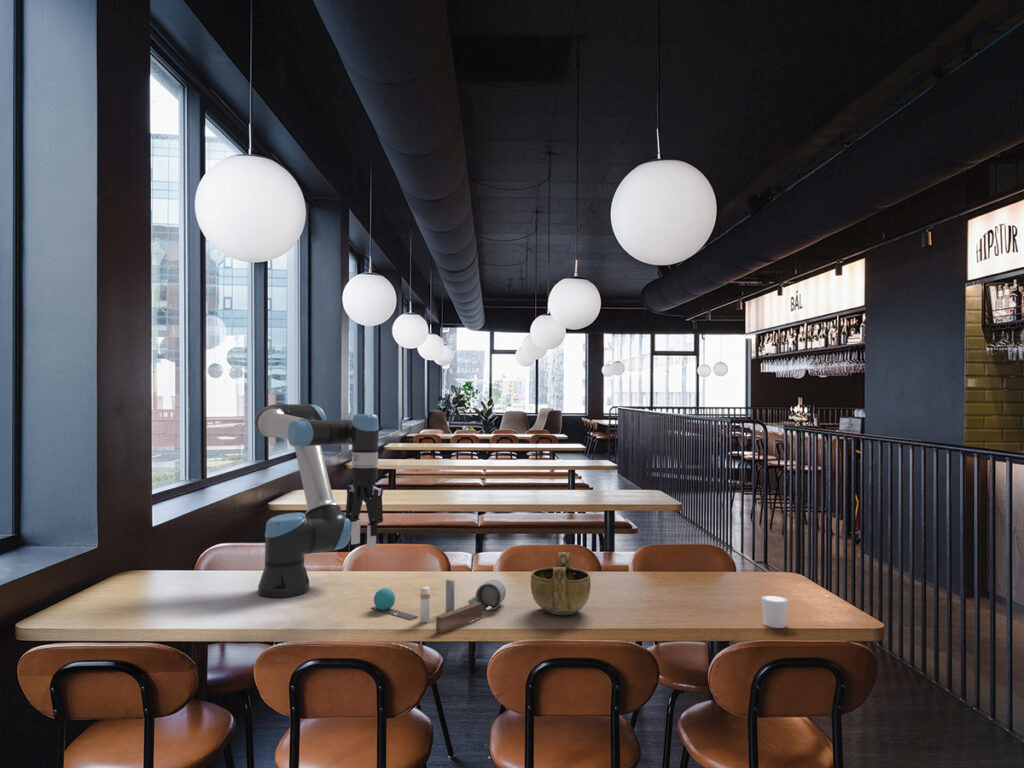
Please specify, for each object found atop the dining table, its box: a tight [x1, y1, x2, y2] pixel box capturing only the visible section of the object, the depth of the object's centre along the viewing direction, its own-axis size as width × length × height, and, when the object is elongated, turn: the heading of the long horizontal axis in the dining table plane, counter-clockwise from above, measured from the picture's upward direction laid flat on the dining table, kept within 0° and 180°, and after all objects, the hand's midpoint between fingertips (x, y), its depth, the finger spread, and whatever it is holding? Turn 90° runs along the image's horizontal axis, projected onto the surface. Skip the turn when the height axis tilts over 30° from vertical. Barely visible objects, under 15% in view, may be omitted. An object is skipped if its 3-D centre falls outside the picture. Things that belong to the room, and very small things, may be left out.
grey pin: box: [445, 578, 456, 613], centre depth 183 cm, size 2×2×9 cm
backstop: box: [435, 602, 483, 635], centre depth 173 cm, size 2×16×4 cm, turn 143°
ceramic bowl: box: [530, 551, 591, 616], centre depth 184 cm, size 22×17×15 cm
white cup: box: [760, 594, 789, 629], centre depth 176 cm, size 7×7×7 cm
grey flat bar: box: [370, 605, 419, 620], centre depth 182 cm, size 16×3×1 cm, turn 53°
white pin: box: [419, 586, 431, 624], centre depth 175 cm, size 2×2×9 cm
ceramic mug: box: [467, 579, 507, 611], centre depth 189 cm, size 11×8×8 cm
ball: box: [373, 587, 396, 610], centre depth 184 cm, size 6×6×6 cm
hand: (363, 545), depth 191 cm, fingers open, 6 cm apart
